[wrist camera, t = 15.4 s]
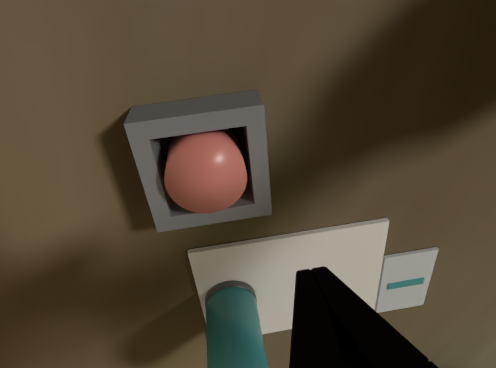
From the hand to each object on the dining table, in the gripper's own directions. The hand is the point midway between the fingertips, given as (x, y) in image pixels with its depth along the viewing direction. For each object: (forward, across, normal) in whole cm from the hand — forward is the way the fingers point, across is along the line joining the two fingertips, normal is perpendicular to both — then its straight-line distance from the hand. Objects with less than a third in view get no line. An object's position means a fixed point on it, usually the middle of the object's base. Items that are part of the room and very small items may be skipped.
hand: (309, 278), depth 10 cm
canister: (+12, +3, +15) cm, 20 cm away
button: (+12, +3, +2) cm, 13 cm away
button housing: (+12, +3, +2) cm, 13 cm away
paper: (+12, -2, +15) cm, 20 cm away
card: (+12, -12, +17) cm, 24 cm away
